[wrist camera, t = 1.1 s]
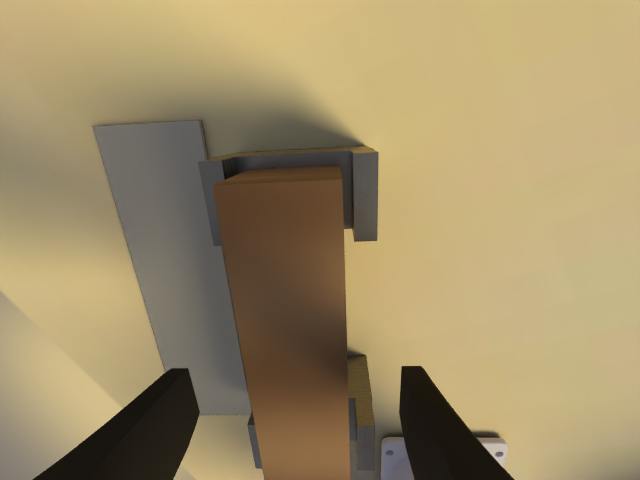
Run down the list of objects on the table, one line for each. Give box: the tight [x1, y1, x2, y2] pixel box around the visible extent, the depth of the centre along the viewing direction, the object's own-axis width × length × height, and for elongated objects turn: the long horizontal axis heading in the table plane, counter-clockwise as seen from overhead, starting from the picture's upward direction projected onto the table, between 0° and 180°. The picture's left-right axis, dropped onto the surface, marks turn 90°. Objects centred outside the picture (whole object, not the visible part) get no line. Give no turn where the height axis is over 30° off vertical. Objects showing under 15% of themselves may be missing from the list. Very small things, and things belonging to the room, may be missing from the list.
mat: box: [93, 120, 252, 415], centre depth 17 cm, size 18×5×1 cm, turn 3°
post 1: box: [198, 146, 378, 246], centre depth 12 cm, size 3×6×4 cm, turn 93°
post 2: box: [248, 356, 375, 470], centre depth 16 cm, size 3×6×4 cm, turn 93°
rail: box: [212, 165, 351, 480], centre depth 12 cm, size 14×4×4 cm, turn 3°
